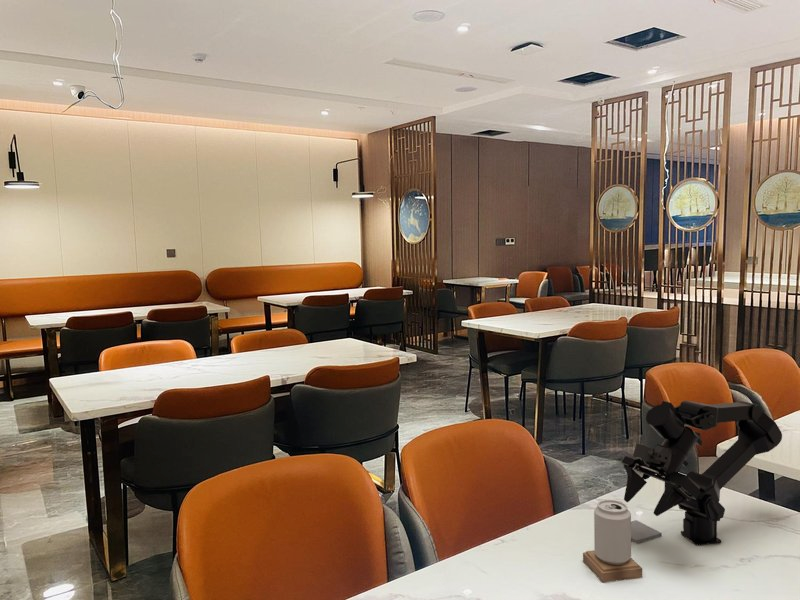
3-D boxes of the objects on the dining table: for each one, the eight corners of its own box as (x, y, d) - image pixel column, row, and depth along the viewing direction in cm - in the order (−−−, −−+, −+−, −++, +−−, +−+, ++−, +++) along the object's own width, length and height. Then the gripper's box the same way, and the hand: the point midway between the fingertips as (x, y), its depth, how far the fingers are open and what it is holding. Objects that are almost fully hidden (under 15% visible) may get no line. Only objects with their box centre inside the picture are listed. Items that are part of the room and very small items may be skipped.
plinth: (620, 556, 139) (620, 545, 139) (642, 577, 130) (642, 566, 130) (583, 561, 138) (582, 550, 137) (602, 582, 129) (602, 571, 128)
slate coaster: (636, 523, 155) (636, 520, 155) (661, 536, 148) (661, 532, 148) (611, 530, 152) (611, 526, 152) (636, 543, 145) (636, 540, 145)
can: (638, 562, 131) (638, 508, 130) (608, 569, 129) (607, 514, 128) (616, 546, 138) (616, 495, 137) (587, 552, 136) (587, 500, 135)
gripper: (624, 421, 147) (590, 476, 144) (686, 439, 129) (648, 501, 126) (653, 447, 150) (619, 501, 147) (716, 468, 133) (680, 530, 129)
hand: (639, 507), depth 137 cm, fingers open, 9 cm apart
